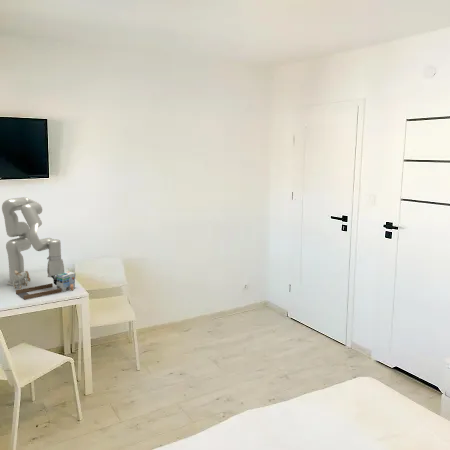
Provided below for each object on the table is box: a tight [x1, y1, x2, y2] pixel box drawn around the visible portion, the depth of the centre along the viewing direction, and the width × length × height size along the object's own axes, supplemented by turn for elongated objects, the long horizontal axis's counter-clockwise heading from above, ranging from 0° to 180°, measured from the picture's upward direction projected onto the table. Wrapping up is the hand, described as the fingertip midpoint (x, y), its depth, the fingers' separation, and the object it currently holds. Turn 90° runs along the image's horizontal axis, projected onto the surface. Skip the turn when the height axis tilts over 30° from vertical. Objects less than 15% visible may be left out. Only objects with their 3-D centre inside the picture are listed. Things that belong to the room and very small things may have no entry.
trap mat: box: [16, 292, 30, 300], centre depth 295 cm, size 12×6×1 cm, turn 43°
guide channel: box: [15, 283, 63, 300], centre depth 301 cm, size 15×24×2 cm, turn 133°
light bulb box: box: [56, 270, 76, 293], centre depth 309 cm, size 11×7×11 cm, turn 152°
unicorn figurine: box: [13, 270, 31, 290], centre depth 311 cm, size 7×20×13 cm, turn 3°
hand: (56, 284), depth 308 cm, fingers closed
